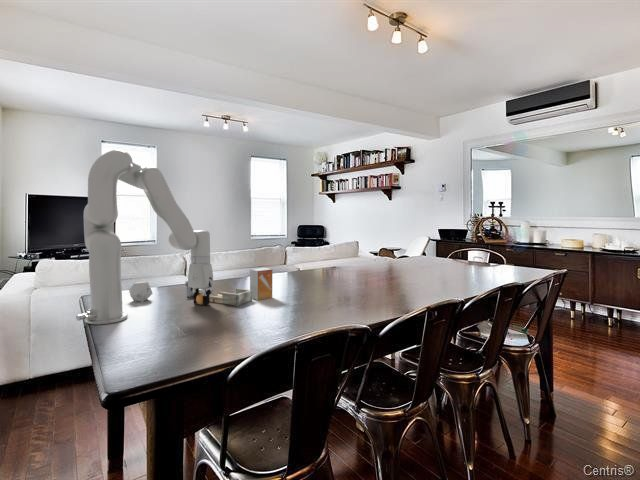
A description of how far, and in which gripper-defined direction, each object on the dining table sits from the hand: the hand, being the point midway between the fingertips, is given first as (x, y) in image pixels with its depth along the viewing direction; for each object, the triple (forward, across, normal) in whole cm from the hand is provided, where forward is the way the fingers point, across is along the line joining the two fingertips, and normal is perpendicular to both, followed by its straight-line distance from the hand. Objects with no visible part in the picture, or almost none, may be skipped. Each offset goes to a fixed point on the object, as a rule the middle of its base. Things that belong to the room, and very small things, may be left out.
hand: (201, 303), depth 148 cm
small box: (+1, +15, +21) cm, 26 cm away
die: (+1, -28, -7) cm, 29 cm away
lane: (0, +5, +10) cm, 11 cm away
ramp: (0, -9, +10) cm, 13 cm away
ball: (-2, 0, 0) cm, 2 cm away
